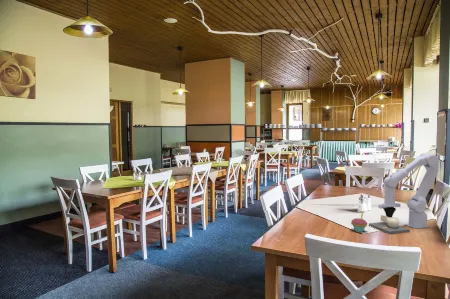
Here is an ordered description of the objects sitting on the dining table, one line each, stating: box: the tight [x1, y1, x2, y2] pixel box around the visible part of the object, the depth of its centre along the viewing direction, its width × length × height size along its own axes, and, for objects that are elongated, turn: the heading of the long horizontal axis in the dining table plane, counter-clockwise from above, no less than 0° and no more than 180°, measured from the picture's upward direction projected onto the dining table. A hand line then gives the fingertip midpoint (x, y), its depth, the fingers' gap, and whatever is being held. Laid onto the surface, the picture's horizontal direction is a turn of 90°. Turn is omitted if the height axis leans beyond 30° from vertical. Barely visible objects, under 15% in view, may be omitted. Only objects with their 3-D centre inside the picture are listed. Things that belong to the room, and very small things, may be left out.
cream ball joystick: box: [380, 214, 400, 227], centre depth 185 cm, size 12×6×4 cm, turn 17°
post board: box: [368, 221, 411, 235], centre depth 184 cm, size 14×16×2 cm
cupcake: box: [350, 211, 368, 233], centre depth 180 cm, size 9×8×12 cm
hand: (389, 219), depth 190 cm, fingers closed
